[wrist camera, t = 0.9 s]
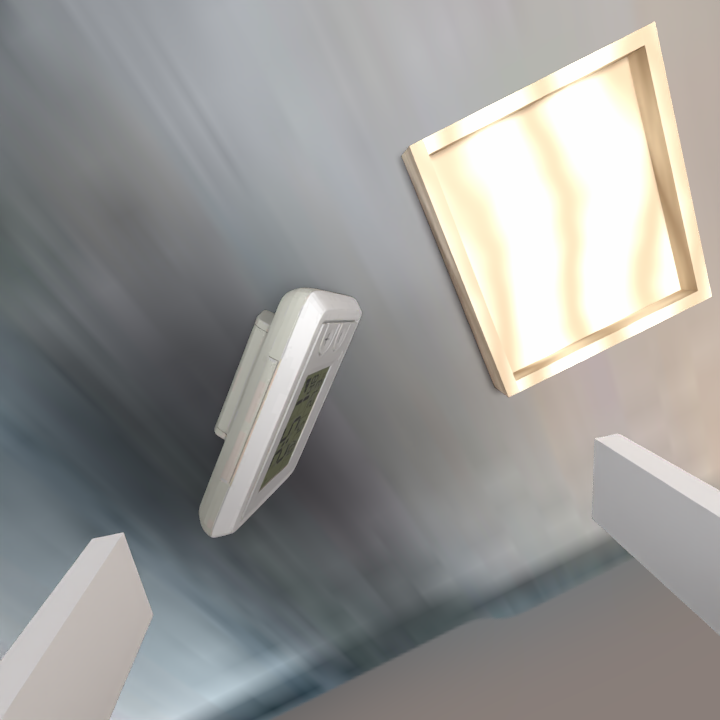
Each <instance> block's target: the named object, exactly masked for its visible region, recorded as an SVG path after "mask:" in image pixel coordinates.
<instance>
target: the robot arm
mask: <svg viewBox="0 0 720 720" xmlns="http://www.w3.org/2000/svg"><path fill="white" fill-rule="evenodd" d="M592 519H593V520H594V521H595V522H596V523H597V524H598V525H599V526H601V527H602V528H603V529H604V530H605V531H606V532H607V533H608V534H609V535H610V536H611V537H613V538H614V539H615V540H616V541H617V542H618V543H619V544H620V545H621V546H622V547H623V548H625V549H626V550H627V551H628V552H629V553H630V554H631V555H632V556H633V557H634V558H635V559H637V560H638V561H639V562H640V563H641V564H642V565H643V566H644V567H645V568H646V569H648V570H649V571H650V572H651V573H652V574H653V575H654V576H655V577H656V578H657V579H659V580H660V581H661V582H662V583H663V584H664V585H665V586H666V587H667V588H668V589H669V590H670V591H672V592H673V593H674V594H675V595H676V596H677V597H678V598H679V599H680V600H681V601H682V602H684V603H685V604H686V605H687V606H688V607H689V608H690V609H691V610H692V611H693V612H694V613H696V614H697V615H698V616H699V617H700V618H701V619H702V620H703V621H704V622H705V623H706V624H708V625H709V626H710V627H711V628H712V629H713V630H714V631H715V632H716V633H717V634H719V635H720V491H719V490H718V489H716V488H714V487H712V486H711V485H709V484H707V483H705V482H703V481H702V480H700V479H698V478H696V477H695V476H693V475H691V474H689V473H688V472H686V471H684V470H682V469H681V468H679V467H677V466H675V465H673V464H672V463H670V462H668V461H666V460H665V459H663V458H661V457H659V456H658V455H656V454H654V453H652V452H651V451H649V450H647V449H645V448H643V447H642V446H640V445H638V444H636V443H635V442H633V441H631V440H629V439H628V438H626V437H624V436H622V435H620V434H614V435H609V436H604V437H599V438H595V441H594V469H593V498H592ZM152 617H153V613H152V610H151V607H150V604H149V602H148V599H147V596H146V593H145V591H144V588H143V585H142V582H141V580H140V577H139V574H138V571H137V569H136V566H135V563H134V560H133V557H132V555H131V552H130V549H129V546H128V544H127V541H126V538H125V535H124V533H118V534H113V535H108V536H103V537H98V538H93V539H92V540H91V541H90V542H89V544H88V545H87V546H86V548H85V549H84V550H83V552H82V553H81V554H80V556H79V557H78V558H77V560H76V561H75V562H74V564H73V565H72V566H71V568H70V569H69V570H68V572H67V573H66V574H65V576H64V577H63V578H62V580H61V581H60V582H59V584H58V585H57V586H56V588H55V589H54V590H53V592H52V593H51V594H50V596H49V597H48V598H47V600H46V601H45V602H44V604H43V605H42V606H41V608H40V609H39V610H38V612H37V613H36V614H35V616H34V617H33V618H32V619H31V621H30V622H29V623H28V625H27V626H26V627H25V629H24V630H23V631H22V633H21V634H20V635H19V637H18V638H17V639H16V641H15V642H14V643H13V645H12V646H11V647H10V649H9V650H8V651H7V653H6V654H5V655H4V657H3V658H2V659H1V661H0V720H109V719H110V717H111V714H112V712H113V710H114V707H115V705H116V703H117V700H118V698H119V695H120V693H121V691H122V688H123V686H124V684H125V681H126V679H127V676H128V674H129V672H130V669H131V667H132V665H133V662H134V660H135V657H136V655H137V653H138V650H139V648H140V646H141V643H142V641H143V639H144V636H145V634H146V631H147V629H148V627H149V624H150V622H151V620H152Z"/></svg>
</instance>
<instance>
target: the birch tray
mask: <svg viewBox="0 0 720 720" xmlns="http://www.w3.org/2000/svg"><path fill="white" fill-rule="evenodd" d="M402 158H403V161H404V163H405V166H406V168H407V171H408V173H409V176H410V178H411V181H412V183H413V186H414V188H415V191H416V193H417V196H418V198H419V201H420V203H421V206H422V208H423V211H424V213H425V215H426V218H427V220H428V223H429V225H430V228H431V230H432V233H433V235H434V238H435V240H436V243H437V245H438V248H439V250H440V253H441V255H442V258H443V260H444V263H445V265H446V268H447V270H448V272H449V275H450V277H451V280H452V282H453V285H454V287H455V290H456V292H457V295H458V297H459V300H460V302H461V305H462V307H463V310H464V312H465V315H466V317H467V320H468V322H469V325H470V327H471V329H472V332H473V334H474V337H475V339H476V342H477V344H478V347H479V349H480V352H481V354H482V357H483V359H484V362H485V364H486V367H487V369H488V372H489V374H490V377H491V379H492V382H493V384H494V386H495V388H496V389H498V390H499V391H501V392H502V393H503V394H505V395H506V396H508V397H510V396H512V395H514V394H516V393H518V392H520V391H522V390H524V389H526V388H528V387H531V386H533V385H535V384H537V383H539V382H541V381H543V380H545V379H547V378H549V377H551V376H553V375H555V374H557V373H559V372H561V371H563V370H565V369H567V368H569V367H571V366H573V365H575V364H577V363H579V362H581V361H583V360H585V359H587V358H589V357H591V356H593V355H595V354H597V353H599V352H601V351H603V350H605V349H607V348H609V347H611V346H613V345H615V344H617V343H619V342H621V341H623V340H625V339H627V338H629V337H631V336H633V335H636V334H638V333H640V332H642V331H644V330H646V329H648V328H650V327H652V326H654V325H656V324H658V323H660V322H662V321H664V320H666V319H668V318H670V317H672V316H674V315H676V314H678V313H680V312H682V311H684V310H686V309H688V308H690V307H692V306H694V305H696V304H698V303H700V302H702V301H704V300H706V299H708V298H710V297H712V295H711V290H710V285H709V280H708V275H707V270H706V266H705V261H704V256H703V251H702V246H701V241H700V237H699V232H698V227H697V222H696V217H695V212H694V208H693V203H692V198H691V193H690V188H689V183H688V179H687V174H686V169H685V164H684V159H683V154H682V150H681V145H680V140H679V135H678V130H677V125H676V121H675V116H674V111H673V106H672V101H671V96H670V92H669V87H668V82H667V77H666V72H665V67H664V63H663V58H662V53H661V48H660V43H659V38H658V33H657V29H656V24H655V22H653V23H651V24H649V25H647V26H645V27H643V28H641V29H639V30H637V31H635V32H633V33H631V34H629V35H627V36H626V37H624V38H622V39H620V40H618V41H616V42H614V43H612V44H610V45H608V46H606V47H604V48H602V49H600V50H598V51H596V52H594V53H592V54H590V55H588V56H586V57H584V58H582V59H580V60H578V61H576V62H574V63H572V64H570V65H568V66H566V67H564V68H562V69H560V70H558V71H556V72H555V73H553V74H551V75H549V76H547V77H545V78H543V79H541V80H539V81H537V82H535V83H533V84H531V85H529V86H527V87H525V88H523V89H521V90H519V91H517V92H515V93H513V94H511V95H509V96H507V97H505V98H503V99H501V100H499V101H497V102H495V103H493V104H491V105H489V106H487V107H485V108H484V109H482V110H480V111H478V112H476V113H474V114H472V115H470V116H468V117H466V118H464V119H462V120H460V121H458V122H456V123H454V124H452V125H450V126H448V127H446V128H444V129H442V130H440V131H438V132H436V133H434V134H432V135H430V136H428V137H426V138H424V139H422V140H420V141H418V142H416V143H414V144H413V145H411V146H409V147H408V148H407V150H406V151H405V152H404V153H403V154H402Z"/></svg>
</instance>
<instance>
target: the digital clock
mask: <svg viewBox="0 0 720 720" xmlns="http://www.w3.org/2000/svg"><path fill="white" fill-rule="evenodd" d="M361 315H362V311H361V309H360V307H359V305H358V303H357V301H356V299H355V298H353V297H350V296H347V295H342V294H338V293H333V292H329V291H324V290H320V289H314V288H298V289H294V290H292V291H289V292H287V293H286V294H285V295H284V296H283V298H282V299H281V301H280V303H279V305H278V308H277V310H276V313H272V312H270V311H267V310H264V311H263V312H262V313H261V314H260V315H258V316H257V319H256V321H255V324H254V327H253V329H252V332H251V335H250V337H249V340H248V342H247V345H246V348H245V350H244V353H243V355H242V358H241V361H240V363H239V366H238V369H237V371H236V374H235V376H234V379H233V382H232V384H231V387H230V389H229V392H228V395H227V397H226V400H225V403H224V405H223V408H222V410H221V413H220V416H219V418H218V421H217V423H216V426H215V434H217V435H218V436H219V437H221V438H222V439H224V440H225V442H224V445H223V448H222V450H221V453H220V455H219V458H218V460H217V463H216V465H215V468H214V471H213V473H212V476H211V478H210V481H209V483H208V486H207V489H206V491H205V494H204V497H203V499H202V502H201V505H200V508H199V517H200V522H201V525H202V528H203V530H204V531H205V532H206V533H207V534H208V535H209V536H211V537H213V538H215V537H219V536H224V535H227V534H231V533H234V532H235V531H236V530H237V529H238V528H239V527H240V526H241V525H242V524H243V523H244V522H245V521H246V520H247V519H248V518H249V517H250V516H251V515H252V514H253V513H254V512H255V511H256V510H257V509H258V508H259V507H260V506H261V505H262V504H263V503H264V502H265V501H266V500H267V499H268V498H269V497H270V496H271V495H272V494H273V493H274V492H275V491H276V490H277V488H278V487H279V486H280V485H281V484H282V483H283V482H284V481H285V480H286V479H287V478H288V477H289V476H290V475H291V473H292V472H293V470H294V469H295V467H296V465H297V462H298V460H299V458H300V456H301V453H302V451H303V449H304V447H305V444H306V442H307V440H308V438H309V435H310V433H311V431H312V428H313V426H314V424H315V422H316V419H317V417H318V415H319V412H320V410H321V408H322V406H323V403H324V401H325V399H326V396H327V394H328V392H329V390H330V387H331V385H332V383H333V380H334V378H335V376H336V374H337V371H338V369H339V367H340V364H341V362H342V360H343V358H344V355H345V353H346V351H347V348H348V346H349V344H350V342H351V339H352V337H353V335H354V332H355V330H356V328H357V325H358V323H359V321H360V318H361Z"/></svg>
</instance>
